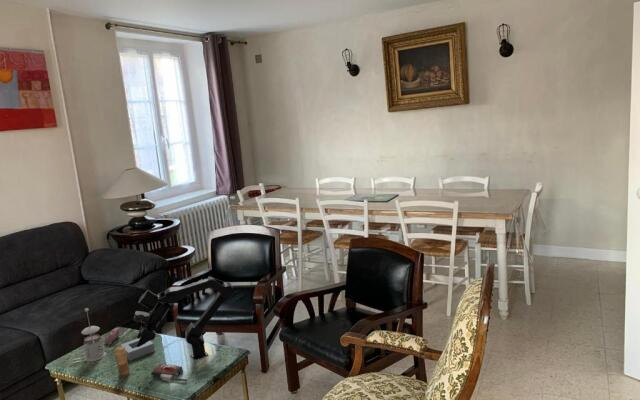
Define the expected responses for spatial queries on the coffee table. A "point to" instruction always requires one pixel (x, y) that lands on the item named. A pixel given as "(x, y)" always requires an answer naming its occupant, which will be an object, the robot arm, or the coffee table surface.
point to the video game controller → (112, 335)
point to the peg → (122, 362)
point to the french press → (95, 348)
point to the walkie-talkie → (168, 372)
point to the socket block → (137, 349)
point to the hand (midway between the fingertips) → (137, 342)
